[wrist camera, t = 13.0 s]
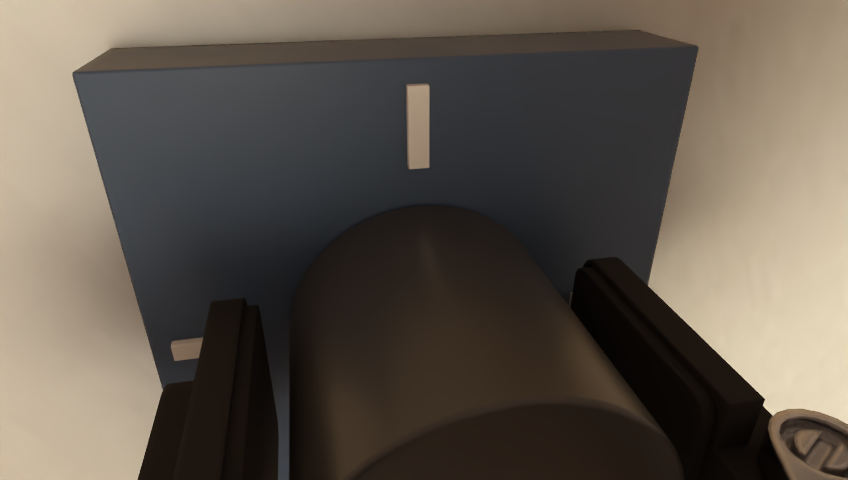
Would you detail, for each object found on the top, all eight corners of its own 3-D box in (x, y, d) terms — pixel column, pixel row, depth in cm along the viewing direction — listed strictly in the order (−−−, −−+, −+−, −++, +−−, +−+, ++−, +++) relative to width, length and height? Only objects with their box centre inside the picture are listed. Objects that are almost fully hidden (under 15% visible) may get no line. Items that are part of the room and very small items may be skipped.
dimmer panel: (108, 48, 10) (66, 74, 8) (638, 29, 12) (706, 47, 10) (212, 457, 15) (200, 533, 13) (578, 399, 16) (615, 458, 14)
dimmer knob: (302, 430, 12) (310, 735, 7) (275, 215, 10) (260, 467, 5) (527, 397, 13) (657, 650, 8) (551, 193, 11) (752, 390, 6)
